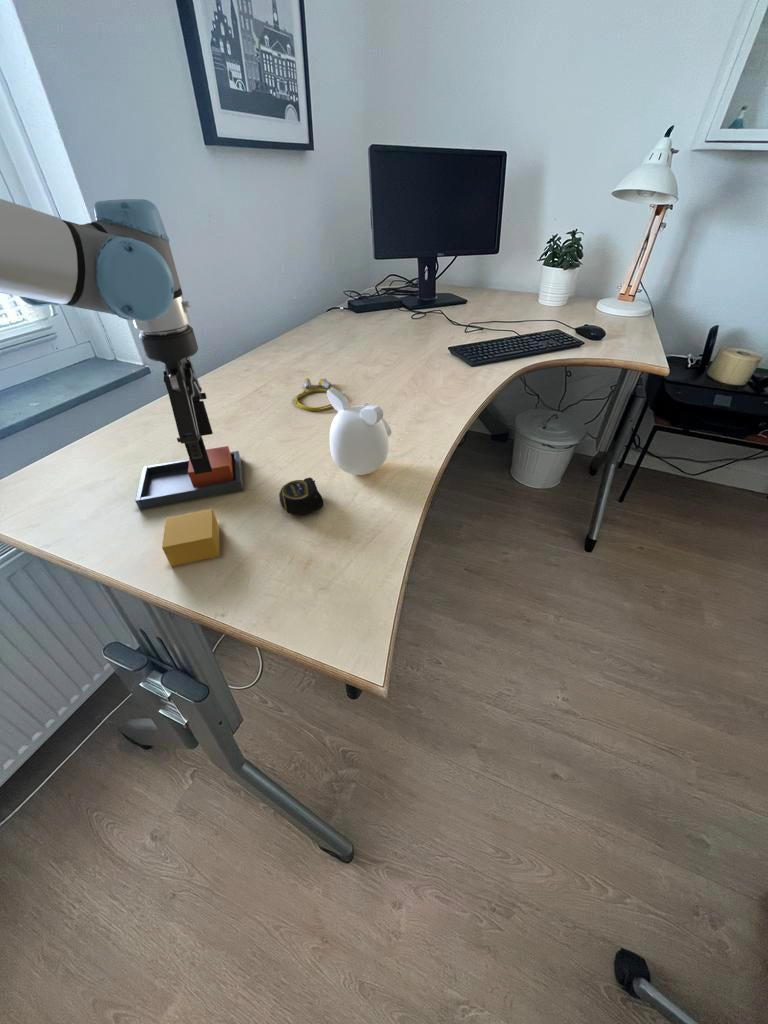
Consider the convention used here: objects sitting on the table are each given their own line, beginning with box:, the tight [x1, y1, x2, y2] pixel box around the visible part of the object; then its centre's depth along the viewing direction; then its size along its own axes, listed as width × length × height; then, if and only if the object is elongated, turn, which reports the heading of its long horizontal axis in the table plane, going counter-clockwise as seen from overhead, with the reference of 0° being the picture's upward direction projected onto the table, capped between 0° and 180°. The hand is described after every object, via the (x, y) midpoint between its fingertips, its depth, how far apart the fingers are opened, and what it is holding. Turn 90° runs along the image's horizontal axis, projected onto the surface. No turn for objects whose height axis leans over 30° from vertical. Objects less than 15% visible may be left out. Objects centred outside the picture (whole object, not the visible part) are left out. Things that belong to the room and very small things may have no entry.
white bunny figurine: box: [326, 387, 392, 476], centre depth 79 cm, size 12×12×15 cm
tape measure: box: [278, 477, 325, 516], centre depth 74 cm, size 7×7×4 cm
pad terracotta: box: [188, 445, 234, 488], centre depth 80 cm, size 7×7×4 cm
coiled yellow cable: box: [294, 377, 334, 412], centre depth 107 cm, size 12×16×2 cm
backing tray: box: [135, 450, 244, 511], centre depth 80 cm, size 18×11×2 cm, turn 107°
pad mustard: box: [161, 508, 220, 567], centre depth 67 cm, size 7×7×4 cm
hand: (204, 452), depth 78 cm, fingers open, 13 cm apart
